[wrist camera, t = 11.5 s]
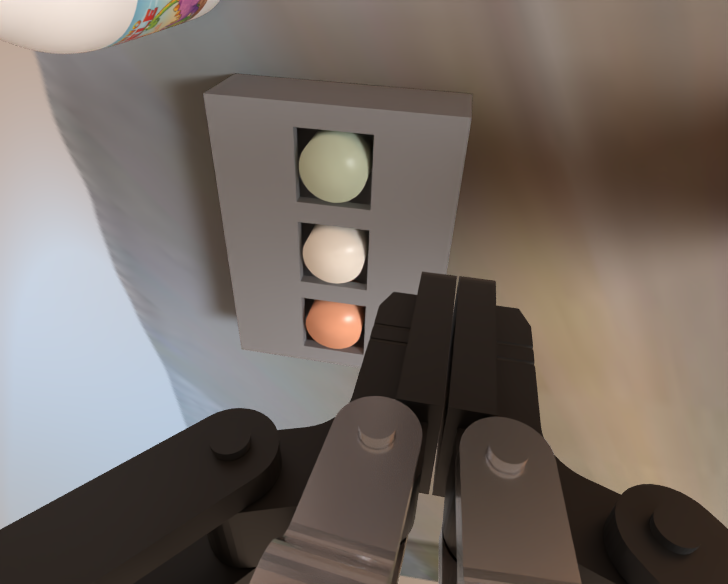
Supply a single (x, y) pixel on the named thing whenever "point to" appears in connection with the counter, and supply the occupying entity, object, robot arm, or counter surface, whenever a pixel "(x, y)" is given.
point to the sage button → (336, 164)
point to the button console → (303, 209)
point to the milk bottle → (90, 21)
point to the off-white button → (336, 252)
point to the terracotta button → (335, 323)
